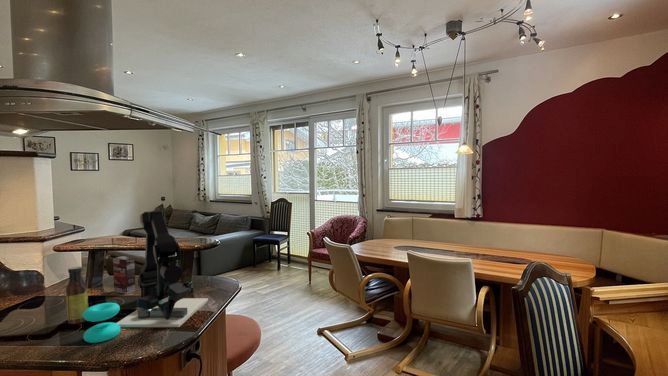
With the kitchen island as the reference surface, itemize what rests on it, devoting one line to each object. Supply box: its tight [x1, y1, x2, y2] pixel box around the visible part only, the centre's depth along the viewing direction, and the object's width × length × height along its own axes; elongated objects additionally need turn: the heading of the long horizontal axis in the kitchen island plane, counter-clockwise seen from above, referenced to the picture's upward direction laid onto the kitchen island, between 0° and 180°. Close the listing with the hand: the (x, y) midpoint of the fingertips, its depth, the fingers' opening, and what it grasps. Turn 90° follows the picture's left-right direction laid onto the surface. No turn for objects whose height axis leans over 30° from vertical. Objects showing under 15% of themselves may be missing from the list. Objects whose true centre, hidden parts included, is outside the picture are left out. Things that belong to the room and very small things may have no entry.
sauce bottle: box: [65, 266, 89, 325], centre depth 120 cm, size 7×6×20 cm
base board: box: [116, 297, 209, 328], centre depth 127 cm, size 23×25×1 cm
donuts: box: [83, 302, 122, 344], centre depth 108 cm, size 10×10×10 cm
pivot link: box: [138, 308, 187, 319], centre depth 122 cm, size 18×5×4 cm, turn 89°
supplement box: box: [112, 256, 136, 295], centre depth 152 cm, size 9×5×16 cm, turn 69°
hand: (167, 319), depth 117 cm, fingers closed
